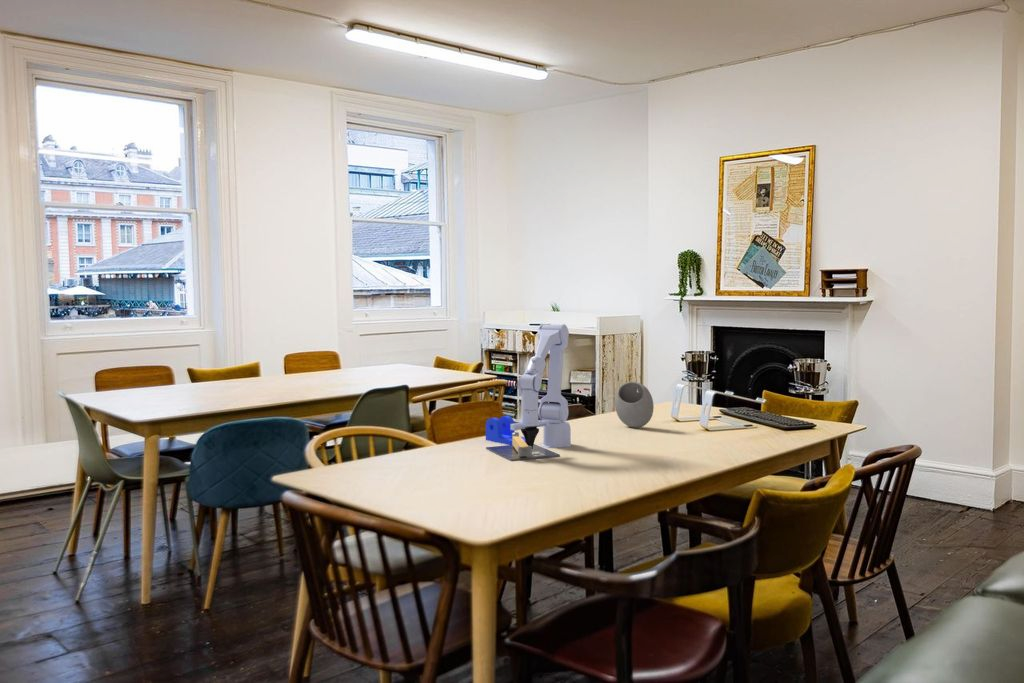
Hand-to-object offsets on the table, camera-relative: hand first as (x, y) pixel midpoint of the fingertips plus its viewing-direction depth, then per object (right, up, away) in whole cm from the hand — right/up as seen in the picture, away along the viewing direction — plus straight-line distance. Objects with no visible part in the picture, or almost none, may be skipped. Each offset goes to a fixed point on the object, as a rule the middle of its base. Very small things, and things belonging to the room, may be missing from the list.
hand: (529, 449), depth 280 cm
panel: (-3, -2, +4) cm, 6 cm away
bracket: (-7, -1, +25) cm, 26 cm away
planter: (+43, +1, +56) cm, 71 cm away
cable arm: (-3, -1, +3) cm, 4 cm away
